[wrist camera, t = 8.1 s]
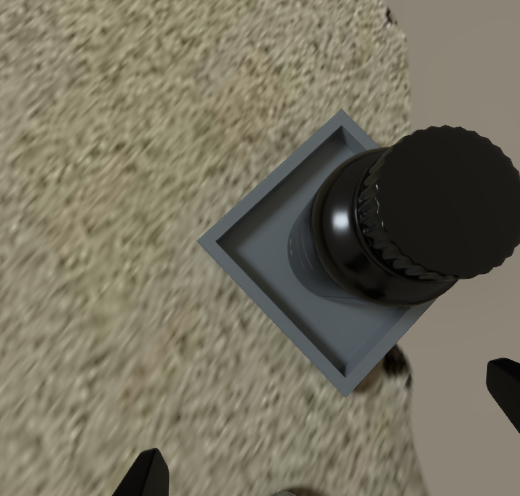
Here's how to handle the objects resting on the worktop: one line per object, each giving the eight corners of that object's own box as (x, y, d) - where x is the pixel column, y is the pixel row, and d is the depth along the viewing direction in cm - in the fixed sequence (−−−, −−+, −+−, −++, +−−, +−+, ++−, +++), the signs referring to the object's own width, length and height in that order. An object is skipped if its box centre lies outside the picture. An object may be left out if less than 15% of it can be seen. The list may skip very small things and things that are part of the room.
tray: (460, 252, 22) (482, 248, 20) (335, 387, 21) (345, 397, 19) (332, 124, 23) (341, 108, 21) (200, 245, 21) (196, 241, 19)
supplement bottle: (383, 204, 22) (559, 102, 10) (384, 303, 21) (576, 324, 9) (286, 197, 21) (345, 83, 9) (281, 298, 20) (341, 313, 9)
